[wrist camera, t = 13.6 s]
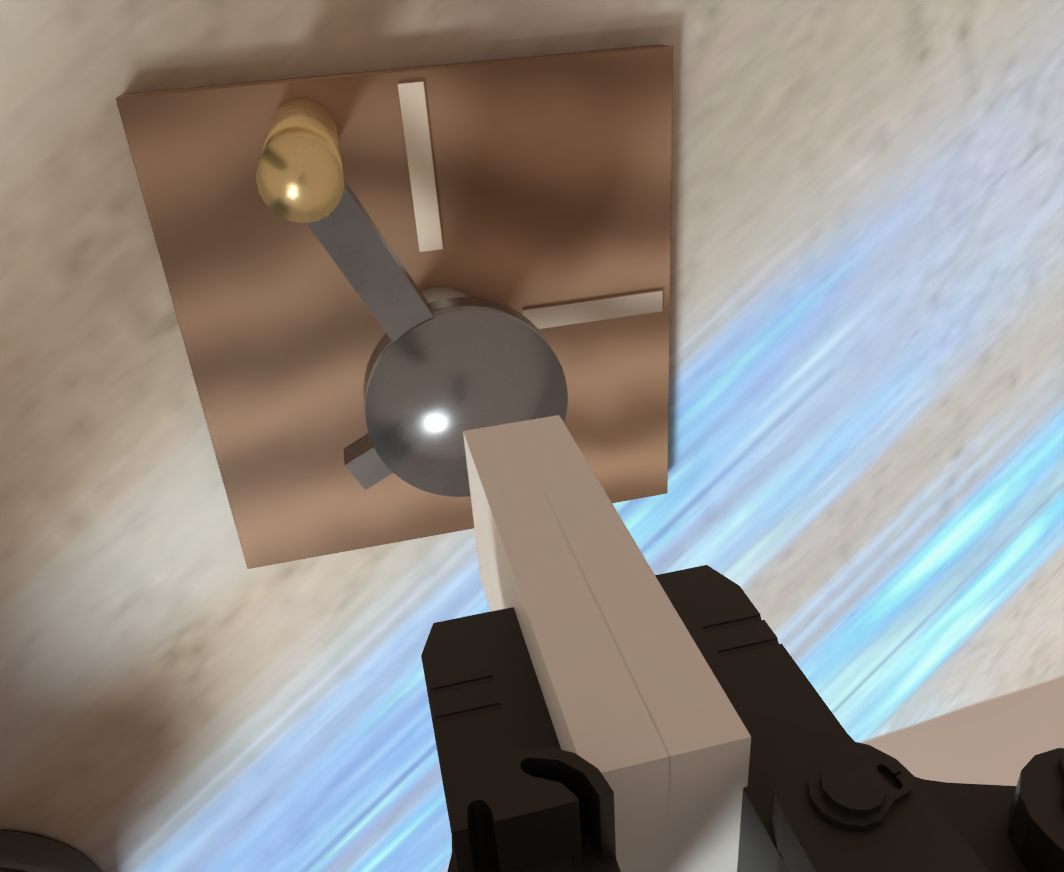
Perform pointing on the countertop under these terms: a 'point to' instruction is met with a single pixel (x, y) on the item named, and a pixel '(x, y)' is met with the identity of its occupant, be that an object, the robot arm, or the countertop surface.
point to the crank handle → (408, 326)
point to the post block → (416, 269)
